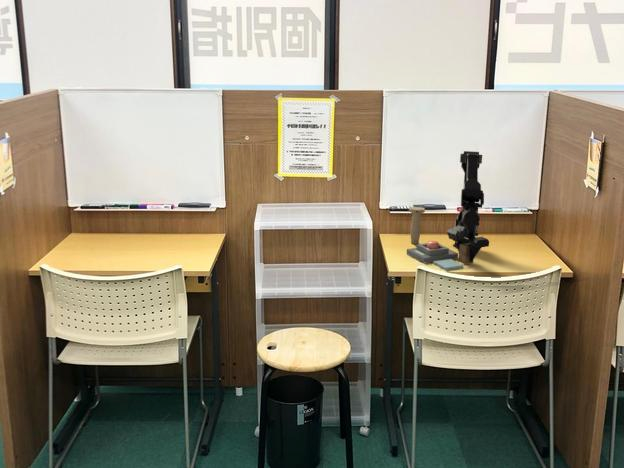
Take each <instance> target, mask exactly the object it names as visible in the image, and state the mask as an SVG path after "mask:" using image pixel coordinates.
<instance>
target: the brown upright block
mask: <svg viewBox="0 0 624 468" xmlns="http://www.w3.org/2000/svg"><path fill="white" fill-rule="evenodd" d="M468 245H470V244H469V243H464V244H460V247H459V252H458V258H457V262H458V263H460V264H462V265H471V264H474V260H473V261H470V248H469V247H468Z"/></svg>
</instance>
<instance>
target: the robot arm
mask: <svg viewBox="0 0 624 468" xmlns="http://www.w3.org/2000/svg"><path fill="white" fill-rule="evenodd" d="M459 155H460V156H459V158H460V159H459V162H460V163H461V166H460V167H461V169H462V171H463V172H464V178H463V188H461V191H460V192H461V193H460V194H461V195H460V206H461V210H460V211H459V212H458V214H457V218H456V219H455V220H454V221H455V222H454V227H449V228H448V229H447V231H446V232H447V236H448V239H449V240H452V241H454V244H452V246H453V247H455V248H457V251H458V252H457V253H459V247H460V244H464V243H469V244H470V245H468V247H469V248H470V261H473V262H474V259H475V258H476V256H477V254H478V253H479V251H481V250H482V248H487V247H490V240H489V238H486V237H484V236H479V233H478V228H479V226H480V214H479V208H483V205H485V193H484V191H483V189H482V184H481V183H480V182H479V181H478V180H479V178H478V170H479V168H480V164H482V163H483V154H480V152H479V151H473V150H472V151H471V150H469V151H468V150H467V151H466V150H463V153H460V154H459Z"/></svg>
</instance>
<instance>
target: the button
mask: <svg viewBox="0 0 624 468" xmlns="http://www.w3.org/2000/svg"><path fill="white" fill-rule="evenodd" d="M426 243H427V248H429V249H438V245H439V244H440V243H439V241H436V240H428V241H427V242H426Z"/></svg>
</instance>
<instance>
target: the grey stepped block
mask: <svg viewBox="0 0 624 468" xmlns="http://www.w3.org/2000/svg"><path fill="white" fill-rule="evenodd" d="M406 255H408V256H409V257H412V258H414V259H415V260H417V261H419V262H421V263H423V264H425V263H426V264H428V263H433V261H439V260H446V259H452V260H455V259H458V258H459V252H457V251H454V250H452V249H450V248H449V247H447V246H445V245H443V244H441V243H439V245H438V249H429V248H427V242H425V243H424V242H423V243H418V244H416V247H414V248H406Z"/></svg>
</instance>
